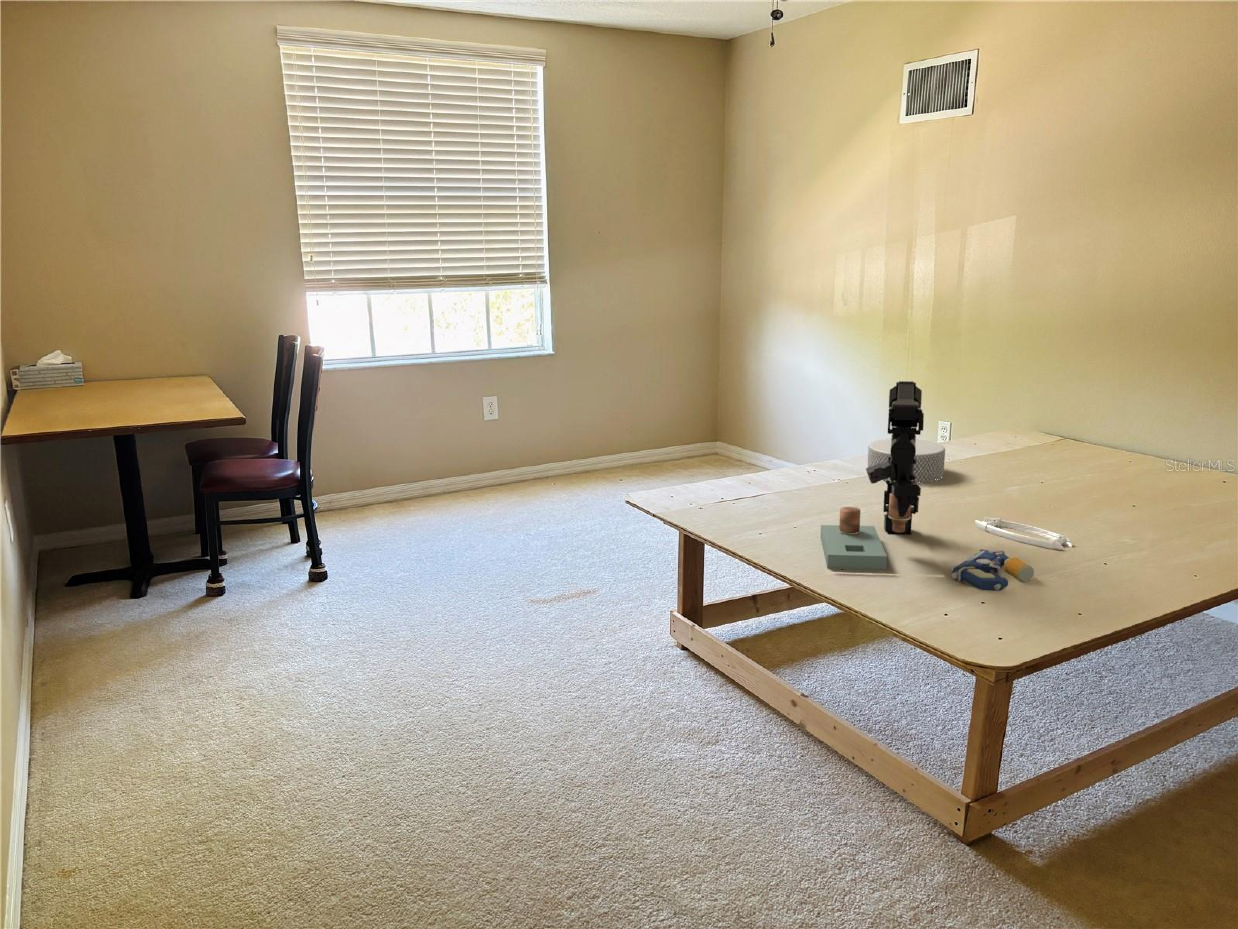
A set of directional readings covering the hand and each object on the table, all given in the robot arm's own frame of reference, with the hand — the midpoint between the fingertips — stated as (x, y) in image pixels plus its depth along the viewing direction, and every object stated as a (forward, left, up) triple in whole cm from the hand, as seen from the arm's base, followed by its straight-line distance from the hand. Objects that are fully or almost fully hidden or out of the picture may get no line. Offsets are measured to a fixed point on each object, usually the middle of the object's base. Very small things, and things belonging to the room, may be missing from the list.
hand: (899, 513), depth 212 cm
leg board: (+11, 0, -11) cm, 16 cm away
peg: (0, 0, -5) cm, 4 cm away
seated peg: (+11, -6, -11) cm, 17 cm away
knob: (-15, -81, -12) cm, 83 cm away
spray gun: (-20, +13, -12) cm, 27 cm away
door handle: (-35, -17, -12) cm, 40 cm away
